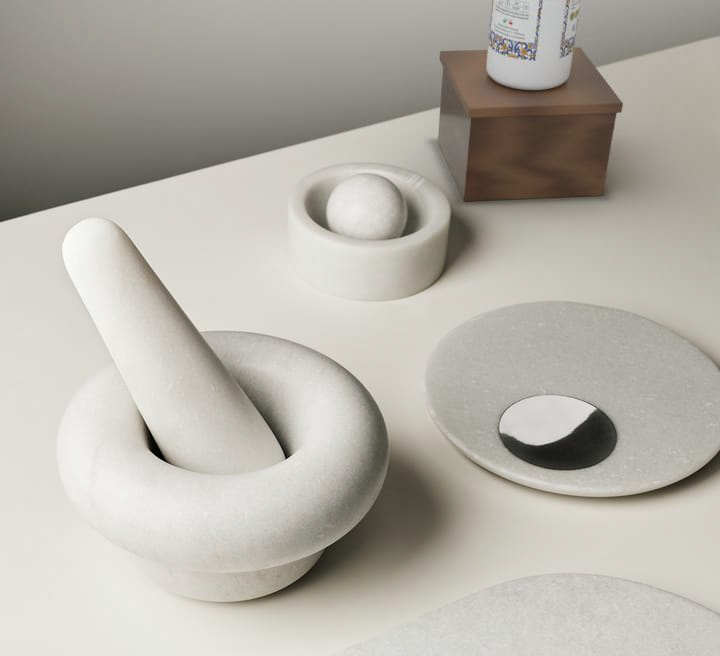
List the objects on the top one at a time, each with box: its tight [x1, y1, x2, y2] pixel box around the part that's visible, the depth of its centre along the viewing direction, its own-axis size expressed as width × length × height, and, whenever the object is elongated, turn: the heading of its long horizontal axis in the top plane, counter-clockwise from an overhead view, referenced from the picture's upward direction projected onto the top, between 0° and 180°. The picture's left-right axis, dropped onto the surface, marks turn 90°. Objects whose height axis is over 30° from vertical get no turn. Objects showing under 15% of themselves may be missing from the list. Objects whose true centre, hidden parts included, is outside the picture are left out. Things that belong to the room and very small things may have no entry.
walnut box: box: [437, 46, 624, 202], centre depth 98 cm, size 13×13×8 cm
